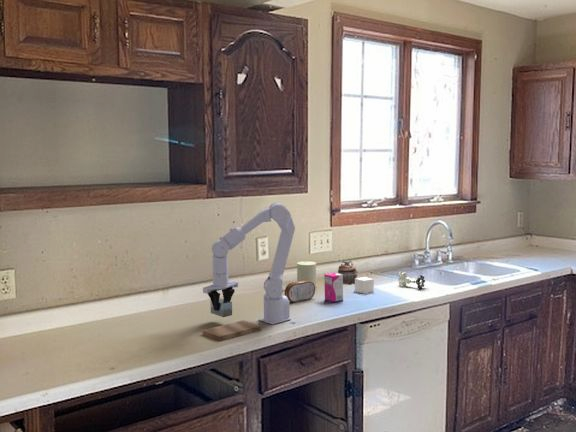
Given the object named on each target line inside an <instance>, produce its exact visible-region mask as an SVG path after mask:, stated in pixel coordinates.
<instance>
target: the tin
mask: <svg viewBox="0 0 576 432" xmlns="http://www.w3.org/2000/svg"><path fill="white" fill-rule="evenodd" d="M315 293H316V288H315V285H314V283H312V282H311V281H309V280H303V281H297V280H295V281H291V282H289V283H288V284H287V285H286V287H285V288H284V295H285V296H286V297H287V298H288V300H289V302H292V303H298V302H303V301H308V300H311V299H312V298H313V297H314V296H315Z"/></svg>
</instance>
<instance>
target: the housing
mask: <svg viewBox="0 0 576 432" xmlns="http://www.w3.org/2000/svg"><path fill="white" fill-rule="evenodd" d="M210 314H213V315H216V316H219V317H221V318H225V317H227V318H228V317H231V316H233V301H227V300H224V299H223V298H221V297H220V298H219V311H216V310H214V308H213V304H212V301H211V300H210Z"/></svg>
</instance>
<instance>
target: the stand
mask: <svg viewBox="0 0 576 432" xmlns="http://www.w3.org/2000/svg"><path fill="white" fill-rule="evenodd" d="M261 330H262V326H261V325H259V324H256V323H253V322H250V321H248V320H245V319H243V320H240V321H233V322H230V323H226V324H222V325H218V326H214V327H210V328H206V329H203V330H202V335H203V336H205V337H209V338H211V339H213V340H215V341H218V342H222V341H225V340H229V339H233V338H236V336H237V337H240V336H244V335H247V334H251V333H255V332H259V331H261ZM232 337H233V338H232ZM228 338H229V339H228Z"/></svg>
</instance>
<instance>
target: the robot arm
mask: <svg viewBox="0 0 576 432" xmlns="http://www.w3.org/2000/svg"><path fill="white" fill-rule="evenodd" d="M272 220H273V221H274V222H276V223H277V225H278V227H279V229H280V234H279V237H278V242H277V246H276V249H275V253H274V257H273V261H272V264H271V268H270V271H269V273H268V277H267V278H266V279H265V280H264V282H263V288H264V291H265V294H264V295H263V317H261V318H259V319H258V320H259V321H261V322H263V323H268V324H271V325H274V324H279V323H282V322H287V321H290V320H292V318H291V317H290V301H289V300H288V298H287V297H286V296H285V294H284V295H283V291H284V288H283V282H284V273H285V270H286V265H287V261H288V258H289V253H290V250H291V246H292V242H293V237H294V235H295V231H296V227H295V224H294V221H293V218H292V215H291V212H290V211H289V209H288V208H287V207H286V206H285V205H283V204H282V203H280V202H272V204H270V205H269V206H267V207H265V208H263V209H262V210H260V211H259V212H258V213H256V214H255V215H254V216H253V217H251V218H250V219H249V220H248V221H247V222H245V224H243V225H242V226H241V227H239V226H235V227H231V228H229V231H227V233H226V234H224V235H223V236H220V237H219V240H218V239H216V240H215V241H214V242H213V243H212V245H211V251H212V261H211V262H212V284H210V285H208V286H204V287H202V293H203V294H207V295H208V297H209V299H210V302H211V301H212V304H213V308H214V310H216V311H219V298H220V299H221V294H222V299H224V300H227V301H230V302H232V301H231V300H232V298H233V295H234V294H235V289H234V288H239V281H236V280H234V281H229V260H228V254H229V251H231V250H233V249H234V248H235V247H237V246H238V245H240V244H241V243H242V242H243V241H245V240H246V235H247V234H248V233H250V232H251V231H253V230H254V229H255V228H257V227H259V226H260V225H261V224H263V223H269V222H272ZM218 291H221V292H222V293H220V292H218Z"/></svg>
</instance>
